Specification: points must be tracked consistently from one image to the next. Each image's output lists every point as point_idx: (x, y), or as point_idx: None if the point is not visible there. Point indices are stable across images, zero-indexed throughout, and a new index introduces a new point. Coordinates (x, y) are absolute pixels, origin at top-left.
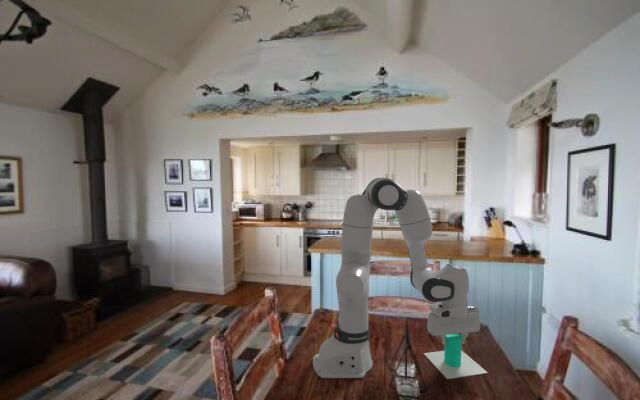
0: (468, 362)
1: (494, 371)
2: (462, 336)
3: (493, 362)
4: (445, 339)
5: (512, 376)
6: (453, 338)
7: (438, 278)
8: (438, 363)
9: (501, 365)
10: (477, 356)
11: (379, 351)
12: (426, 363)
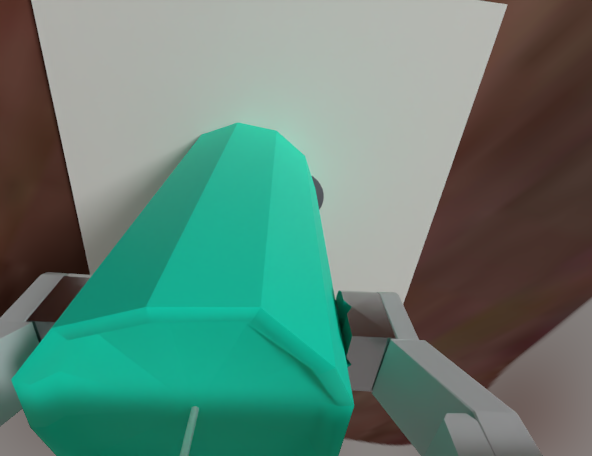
0: (372, 226)
1: (446, 327)
2: (405, 388)
3: (545, 263)
4: (9, 416)
5: (488, 374)
6: (168, 440)
7: None
8: (114, 167)
9: (552, 298)
10: (527, 170)
11: None
12: (5, 119)
